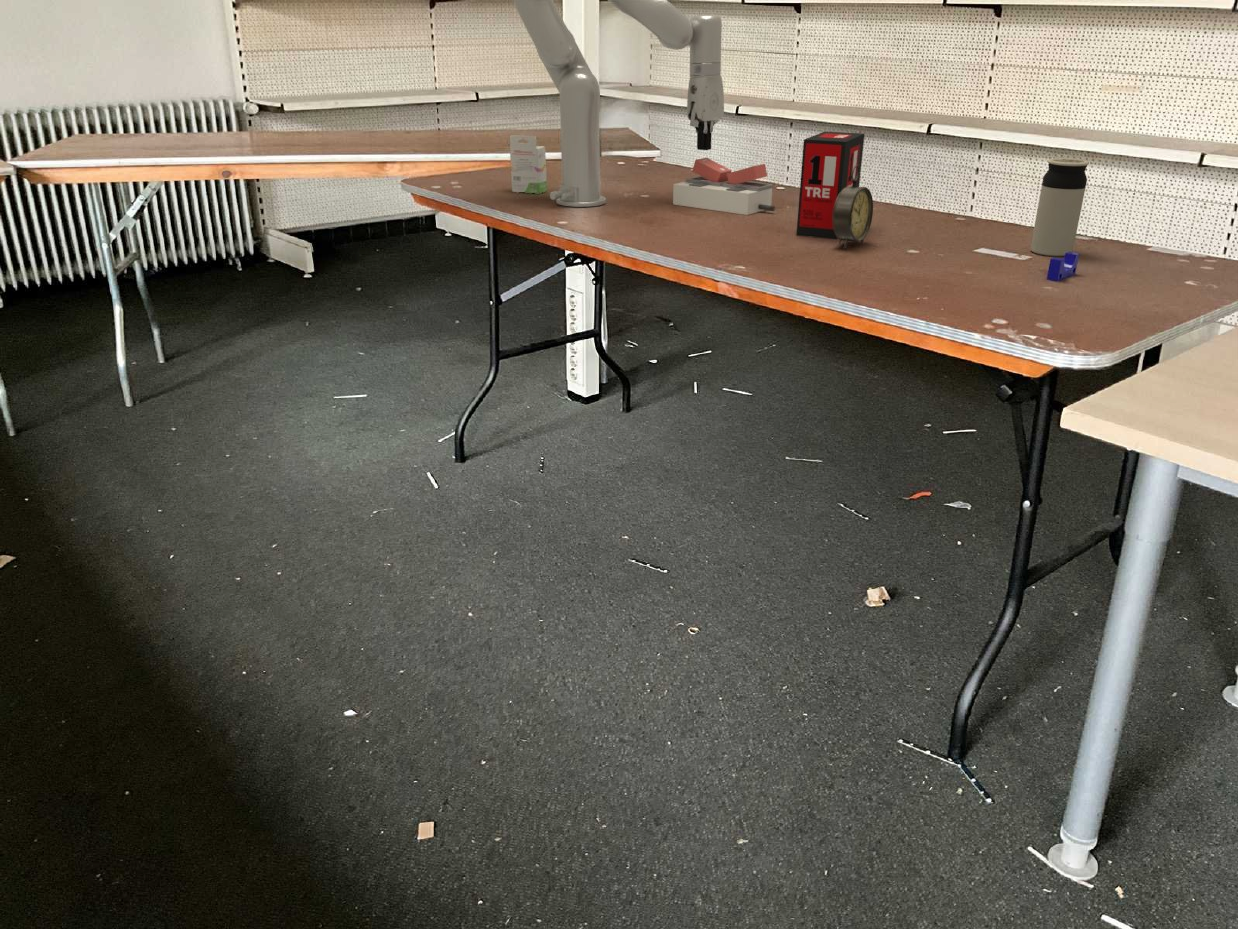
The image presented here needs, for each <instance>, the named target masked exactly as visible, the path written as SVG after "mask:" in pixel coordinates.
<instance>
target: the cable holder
mask: <svg viewBox="0 0 1238 929" xmlns="http://www.w3.org/2000/svg"><path fill="white" fill-rule="evenodd" d="M1079 258H1080V253H1078V252H1074V251H1073V252H1067V253H1065V256H1063V258H1059V257H1052V258H1050V260H1049V264H1048V265H1049V266H1048V270H1047V275H1046V276H1047V277H1046V280H1048V281H1052V282H1057V283H1058V282H1060V281H1062V280H1065V279H1067V278H1069V277H1072V276H1074V275H1076V272H1077V270H1078V269H1077V268H1078V263H1079Z"/></svg>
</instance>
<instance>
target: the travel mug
mask: <svg viewBox="0 0 1238 929" xmlns="http://www.w3.org/2000/svg"><path fill="white" fill-rule="evenodd" d="M1047 163H1048V170H1047V171H1046V172H1045V174H1044V176H1042V177H1043V178H1042V182H1041V187H1040V194H1039V199H1038V205H1037V210H1036V215H1035V221H1034V228H1033V232H1032V238H1031V243H1030V247H1029V248H1030V251H1031V252H1033V253H1034V254H1037V255H1041V256H1046V257H1055V258H1059V257H1065V253H1067V252H1073V253H1074V249H1075V248H1074V246H1075V241H1076V237H1077V233H1078V227H1079V222H1080V217H1081V212H1082V207H1083V203H1084V198H1085V194H1086V193H1085V192H1086V188H1087V187H1086V186H1087V182H1088V178H1087V175H1086V169H1087V167H1088V165H1089V164H1090V162H1089V161H1088V160H1086V159H1079V158H1066V157H1055V158H1049V159H1047Z"/></svg>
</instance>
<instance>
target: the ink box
mask: <svg viewBox="0 0 1238 929" xmlns="http://www.w3.org/2000/svg"><path fill="white" fill-rule="evenodd" d="M522 140H524V141H527V142H520V141H522ZM537 144H538V142H537V136H536V135H519V134H518V135H516V134H515V135H513V134H511V135H510V136H509V145H510V146H509V154H510V156H509V157H510V175H511V176H510V178H511V192H513V193H519V192H525V193H524V194H532V193H535V194H534V195H539V194H543V193H545V192H547V191H548V188H547V187H548V184H547V161H546V160H547V159H546V158H547V157H546V146H543V145H542V146H539V145H537ZM542 192H543V193H542Z"/></svg>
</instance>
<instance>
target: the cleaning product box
mask: <svg viewBox="0 0 1238 929" xmlns="http://www.w3.org/2000/svg"><path fill="white" fill-rule="evenodd" d="M865 136H866V135H865V133H862V132H861V133H859V132H858V133H857V132H841V131H823V132H819V133H817V134H815V135H814V134H813V135H812V136H809V137H805V138H804V139H803V146H802V159H801V169H800V170H801V171H800V172H801V173H800V184H799V185H800V186H799V198H798V208H797V223H796V232H795V233H796V234H795V235H796V236H801V237H809V236H812V237H813V238H821V239H831V240H837V239H839V238H838V237H837V236H836V234H835V232H834V229H833V209H834V204H835V201H836V199H837V196H838V195H839V193H840V192H841V191H842V190H843V189H844V188H846V187H849V186H852V184H853V182H852V171H853V168H854V167H855V165H858V166H859V175H858V179H857V182H856V183H857V187H860V182H861V181H860V180H861V171H862V162H863V161H862V160H863V150H864V142H865ZM857 174H858V168H857V167H856V168H855V170H854V173H853V179H856V178H857ZM812 237H811V238H812Z"/></svg>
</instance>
